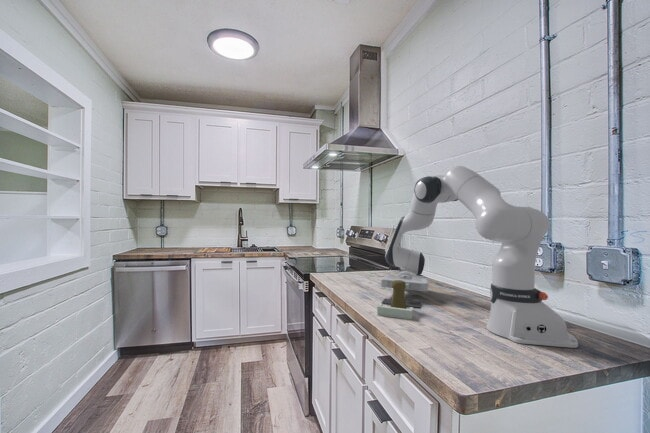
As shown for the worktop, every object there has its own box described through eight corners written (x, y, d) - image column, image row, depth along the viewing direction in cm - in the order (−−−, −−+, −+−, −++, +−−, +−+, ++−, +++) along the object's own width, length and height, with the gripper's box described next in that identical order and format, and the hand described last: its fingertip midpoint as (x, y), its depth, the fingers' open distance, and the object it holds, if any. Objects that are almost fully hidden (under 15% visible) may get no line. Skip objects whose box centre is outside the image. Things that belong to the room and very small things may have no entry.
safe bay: (413, 315, 105) (413, 307, 105) (411, 319, 100) (411, 310, 100) (379, 311, 109) (379, 303, 109) (377, 314, 105) (377, 306, 105)
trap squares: (421, 303, 120) (421, 302, 120) (419, 308, 113) (419, 307, 113) (384, 299, 125) (384, 298, 125) (381, 303, 119) (381, 302, 119)
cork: (405, 306, 115) (405, 279, 115) (408, 311, 109) (408, 282, 109) (389, 306, 116) (389, 278, 116) (391, 311, 110) (391, 281, 110)
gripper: (383, 272, 137) (376, 277, 124) (429, 276, 129) (427, 282, 116) (383, 285, 137) (376, 292, 124) (429, 290, 129) (427, 298, 116)
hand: (401, 287), depth 120 cm, fingers closed
